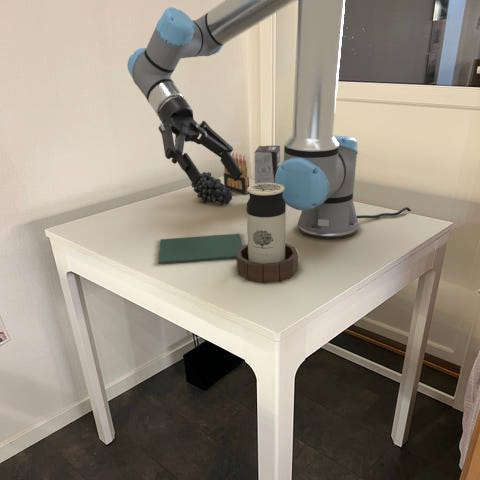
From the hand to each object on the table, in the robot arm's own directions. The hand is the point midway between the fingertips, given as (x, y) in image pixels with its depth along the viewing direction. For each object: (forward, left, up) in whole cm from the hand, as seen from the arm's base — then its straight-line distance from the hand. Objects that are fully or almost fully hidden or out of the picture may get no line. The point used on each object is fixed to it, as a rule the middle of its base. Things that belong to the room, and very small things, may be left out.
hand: (219, 178), depth 109 cm
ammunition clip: (-8, -46, -17) cm, 50 cm away
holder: (-9, +15, -16) cm, 24 cm away
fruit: (0, -35, -17) cm, 39 cm away
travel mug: (-9, +15, -17) cm, 24 cm away
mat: (+5, +1, -16) cm, 17 cm away
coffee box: (-16, -30, -17) cm, 38 cm away
